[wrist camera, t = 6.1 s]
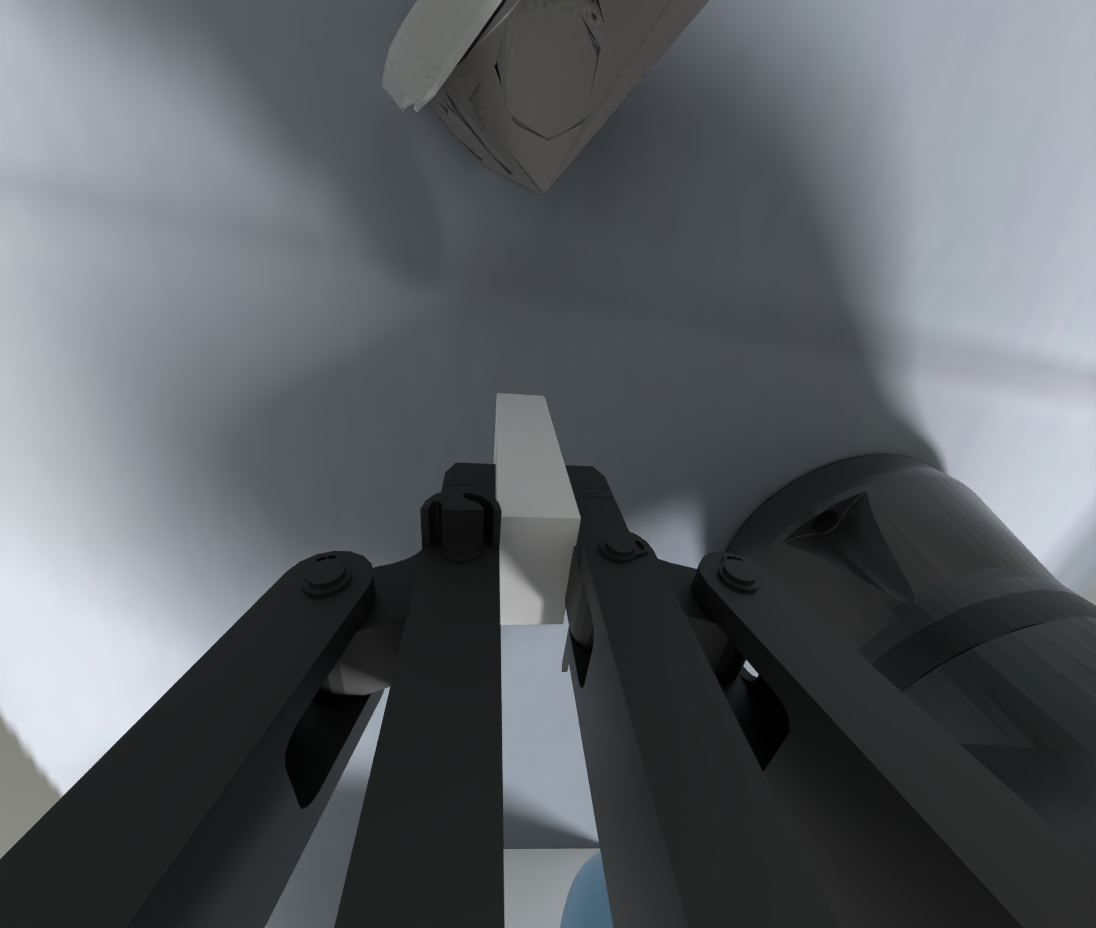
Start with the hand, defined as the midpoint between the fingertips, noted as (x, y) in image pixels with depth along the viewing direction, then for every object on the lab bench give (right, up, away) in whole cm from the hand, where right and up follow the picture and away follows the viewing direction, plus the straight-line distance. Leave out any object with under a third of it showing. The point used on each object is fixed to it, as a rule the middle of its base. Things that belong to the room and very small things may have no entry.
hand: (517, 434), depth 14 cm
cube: (-6, -50, +34) cm, 61 cm away
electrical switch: (+1, +13, +1) cm, 13 cm away
